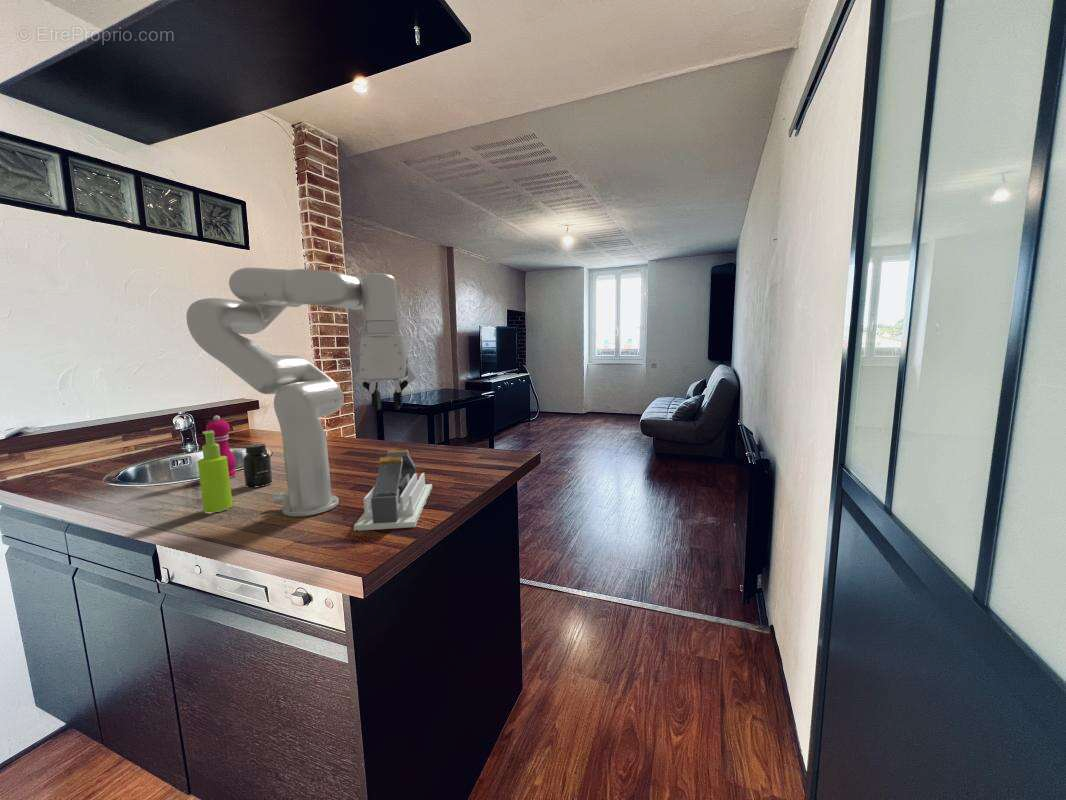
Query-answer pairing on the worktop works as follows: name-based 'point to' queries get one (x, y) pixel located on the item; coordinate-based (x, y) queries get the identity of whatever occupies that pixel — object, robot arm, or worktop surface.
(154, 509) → the worktop surface
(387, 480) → the grey flat block
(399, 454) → the grey green rectangular plate
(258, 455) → the supplement bottle
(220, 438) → the pepper mill
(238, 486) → the worktop surface
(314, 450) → the robot arm
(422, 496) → the heatsink board
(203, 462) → the soap dispenser
